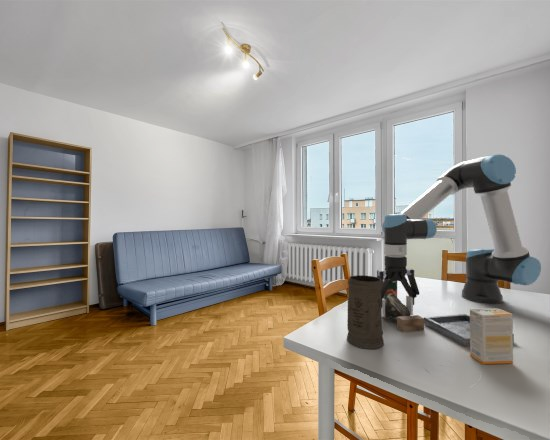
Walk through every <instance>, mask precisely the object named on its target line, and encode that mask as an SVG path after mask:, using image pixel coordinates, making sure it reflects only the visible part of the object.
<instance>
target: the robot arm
mask: <svg viewBox="0 0 550 440" xmlns="http://www.w3.org/2000/svg"><path fill="white" fill-rule="evenodd" d="M516 174H517V168H516V165H515V163H514V161H513V160H512V159H511V158H509V157H508V156H506V155H504V154H492V155H491V154H490V155H485V156H482V157H478V158H474V159H469V160H465V161H462V162H460V163H458V164H456V165H454V166H452V167H451V168H449V169H448V170H446V172H444V173H443V174H442V175H440V176H439V177H438V178H437V179H436V181H435V183H434V184H433V185H432V186H431V187H430V188H428V189H427V190H426V191H424V193H422V194H421V195H420V196H419V197H417V198H416V199H415V200H413V202H412V203H410V204H409V205H408V206H407V207H405V208H404V209H403V210H402V211H400V212H399V213H397V214H394V213H393V214H386V215H385V216H384V220H383V222H382V225H381V229H382V231H383V233H384V235H383V236H384V239H383V240H384V247H383V248H384V255H385V256H384V270H380V269H377V270H376V277H377V278H380V279H381V280H382V282H383V279H384V278H385V279H384V282H383V284H382V285H383V286H382V288H381V318H384V317H385V299H383V297H384V295H385V293H386V292H387V290H388V288H389V286H390V284H392V282H393V281H397V282H400V283H401V285H402V287H403V289H404V290H405V291H406V293H407V295H406V296H405V303H406V304H405V306H406V307H407V308H408V310H409V312H410V314H411V315H410V316H414V305H415V299H416V298H417V296H419V295H420V290H419V287H418V284H417V281H416V278H415V277H416V276H415V270H414V269H412V268H407V266H408V257H407V250H408V249H407V248H408V247H407V242H408V240H419V239H421V240H426V239H432V238H434V237H435V235H436V233H437V231H438V230H437V228H438V227H437V224H436V223H435V221H434V220H432V219H430V218H428V219H427V218H424V217H425V216H426V215H428V213H430V212H431V211H432V210H433V209H435V208H436V207H437V206H438V205H440V204H441V202H443V201H445V199H447V198H448V197H449V196H450V195H451V196H452V195H456V193H458V192H459V191H461V190H464V189H468V188H473V191H474V194H475V195H477V196H479V197H480V200H481V204H482V206H483V210H484V214H485V218H486V221H487V225H488V228H489V233H490V235H491V236H490V237H491V239H492V242H493V246H494V248H486V249H485V248H484V249H483V248H482V249H468V250H467V251H466V256H465V271H466V272H465V273H466V274H465V275H466V277H465V278H466V279H465V282H464V286H463V288H462V289H461V297H463V298H464V299H465V300H469V301H473V302H477V303H484V304H502V303H503V301H504V297H503V294H502V293H501V292H502V291H501V289H500V287H499V284H498V282H499V281H501V282H502V281H503V282H505V283H512V284H514V285H519V286H530V285H533V284H534V283H536V281H537V280H538V279H539V277H540V275H541V272H542V266H541V262H540V260H539V259H537V257H534V256H530V251H529V249H528V248H526V247H524V246H523V244H522V240H521V236H520V232H519V230H518V226H517V222H516V219H515V213H514V211H513V208H512V203H511V200H510V196H509V192H508V190H509V189H510V188H511V186H512V184H511V182H513V181H514V180H515V178H516ZM406 275H407V277H406ZM388 279H389V280H388Z"/></svg>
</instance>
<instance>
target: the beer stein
mask: <svg viewBox="0 0 550 440" xmlns="http://www.w3.org/2000/svg"><path fill="white" fill-rule="evenodd" d="M347 285H348V298H347V322H346V323H347V335H346V340H347V342H348V343H350V344H351V345H352V346H354V347H356V348H360V349H365V350H375V349H380V348H382V347H383V346H384V345H385V343H384V342H385V341H384V338H383V335H384V331H383V323H382V320H383V319H382V318H383V317H382V316H381V288H382V286H383V285H382V280H381V279H380V278H377V276H372V275H365V274H364V275H360V274H359V275H351V276H349V277H348V282H347Z"/></svg>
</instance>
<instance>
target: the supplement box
mask: <svg viewBox="0 0 550 440" xmlns="http://www.w3.org/2000/svg"><path fill="white" fill-rule="evenodd" d="M469 316H470V347H469V356H471V358H473V359H475V360H476V361H478V362H479V363H480V364H482V365H497V364H498V365H500V364H501V365H502V364H513V363H514V348H513V347H514V346H513V345H514V342H513V334H514V331H513V330H514V326H513V324H514V323H513V322H514V314H513V313H511V312H508V311H505V310H504V309H501V308H470V309H469Z"/></svg>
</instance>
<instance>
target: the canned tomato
mask: <svg viewBox="0 0 550 440" xmlns="http://www.w3.org/2000/svg"><path fill="white" fill-rule="evenodd" d="M384 279H385V277H384ZM384 279H383V282H384ZM388 280H389V279H388ZM383 282H382V284H383ZM391 293H392V294H394V295H395V296H396V297H397V298H398V281H393V282H392V284H390V286H389V288H388V290H387V292H386V293H385V295H384V297H383V299H386V297H387V296H388V294H391Z"/></svg>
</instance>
